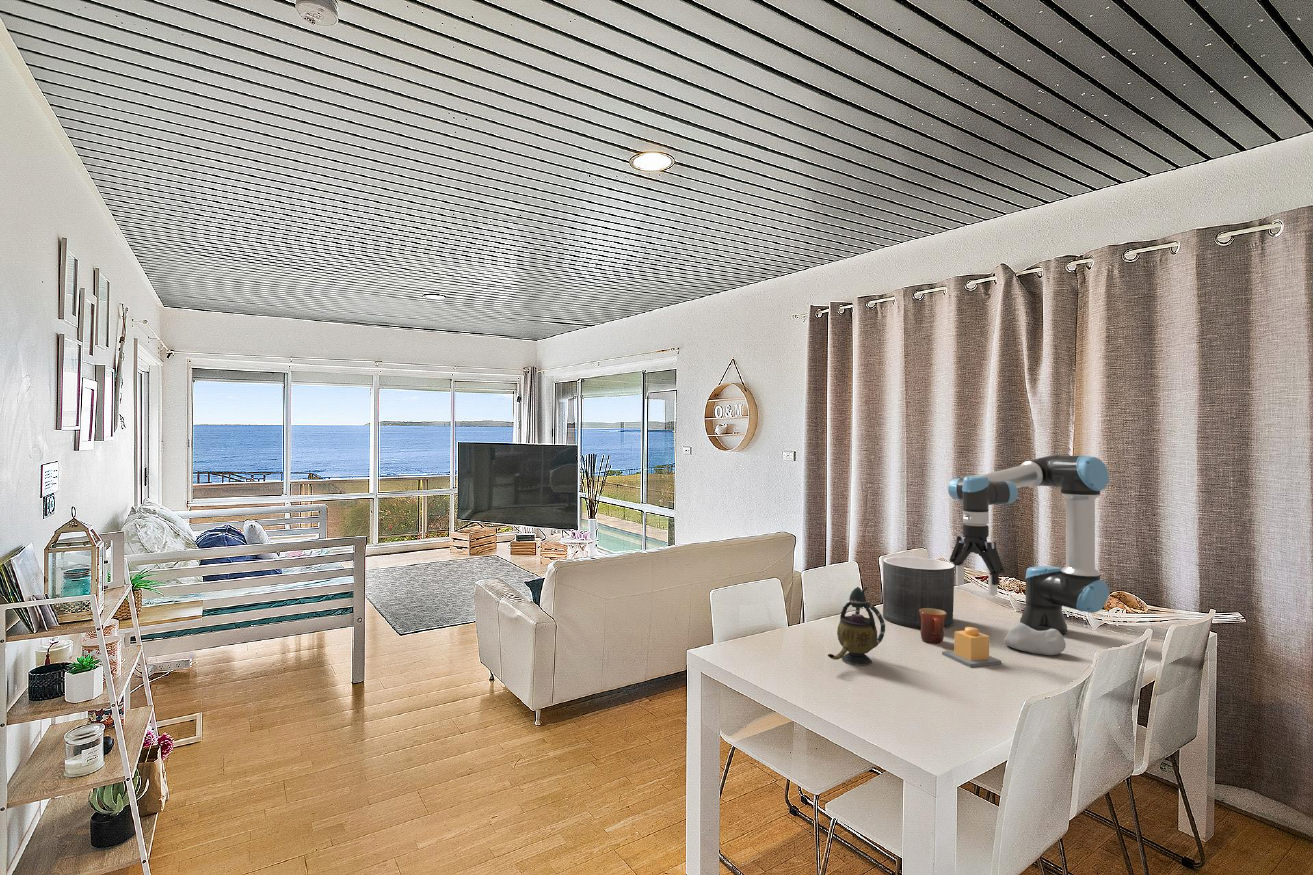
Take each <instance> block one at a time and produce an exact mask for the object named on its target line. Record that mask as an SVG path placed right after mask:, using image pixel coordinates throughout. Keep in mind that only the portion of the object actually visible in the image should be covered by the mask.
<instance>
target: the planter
mask: <svg viewBox="0 0 1313 875" xmlns="http://www.w3.org/2000/svg"><path fill="white" fill-rule="evenodd" d="M882 564H883V565H882V566H883V567H882V582H883V583H882V618H883V619H885V620H886V621H887V622H891V623H892V624H896V625H899V626H902V627H903V626H904V627H909V628H915V629H921V616H920V613H919V609H922V608H932V609H938V610H942V611H945V612H946V613H947V614H946V617H945V620H944V629H946V628H950V627H952V626H953V624H954V603H955V602H954V597H955V565H954V563H952V562H947V561H945V560H939V559H934V558H927V557H917V556H892V557H886V558H884V559H883V560H882Z"/></svg>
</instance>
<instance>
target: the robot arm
mask: <svg viewBox="0 0 1313 875" xmlns="http://www.w3.org/2000/svg"><path fill="white" fill-rule="evenodd" d="M1109 480H1110V474H1109V470H1108V467H1107V466H1106V464H1105V463H1104V462H1103V461H1102V460H1101V459H1100V458H1098V457H1096V456H1091V455H1064V454H1063V455H1061V454H1054V455H1048V456H1043V457H1039V458H1034V459H1031V460H1028V461H1024V462H1022V463H1021V464H1020V465H1018V466H1013V467H1009V468H1006V469H1001V470H998V471H992V472H988V473H984V474H981V475H973V476H972V475H969V476H964V477H963V478H962V477H960V478H959V477H958V478H953V479H952V480H950V481H949V483H948V486H947V491H948V492H947V493H948V495H949V496H950V498H952V499H954V500H958V501H962V523H963V525H962V535H959V536H956V542H955V546H954V548H953V550H952V553H951V555H950V557H949V563H952V564H953V565H954V575H955V585H956V586H965V565H964V562H965V561H966V560H967V559H968V556H969V555H970V554H971V553H972V554H973V553H974V555H975V554H976V555H978V556H979V557H980V558H981V559H982V561H983V562H984V564H985V565H986V567H987V570H989V574H988V595H989V596H995V595H996V596H997V595H998V585H999V584H1000V581H999V579H1000V578H999V576H1000V574H1005V572H1006V571H1005V568H1004V565H1003V563H1002V560H1001V557H1000V555H999V552H998V550H997V544H996V541H988V537H990V536H989V535H990V534H989V533H990V529H989V527H990V526H989V524H990V520H989V517H990V516H989V509H990V508H989V507H990V506H992V505H993V506H994V505H995V506H996V505H1004V506H1005V505H1008V504H1009V505H1010V504H1012V503H1014V502H1015V501H1017V499H1018V496H1019V492H1018V491H1019V490H1018V489H1019V488H1025V487H1029V488H1035V487H1052V488H1053V487H1055V488H1060V495H1062V496H1063V497H1064V499H1065V566H1063V567H1060V566H1059V567H1058V566H1043V565H1042V566H1030V567H1028V568H1027V569H1026V572H1025V606H1024V608H1023V611H1022V613H1021V614H1022V615H1021V617H1019V618H1020V619H1019V623H1023V624H1025V625H1027V626H1029V627H1030V628H1032V629H1034V630H1037V631H1045V630H1049V629H1056V630H1058V631H1059V632H1060V633H1061V634H1062V635H1066V634H1067V633H1068V624H1066V620H1065V615H1064V613H1063V607H1066V608H1069V609H1073V610H1077V611H1079V612H1085V613H1088V614H1095V613H1098V612H1100V611H1101V610H1103V608H1104V606H1106V603H1107V602H1108V599H1109V596H1110V588H1109V586H1108V584H1107V583H1106V582H1105V581H1103V580H1101V573H1100V571H1098V569H1096V500H1097V498H1099V497H1101V491H1102V490H1103V491H1104V490H1105V489H1106V488H1107V486H1108V483H1109Z"/></svg>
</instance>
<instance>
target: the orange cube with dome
mask: <svg viewBox="0 0 1313 875" xmlns="http://www.w3.org/2000/svg"><path fill="white" fill-rule="evenodd" d="M953 644H954V645H953V646H954V647H953V648H954V649H953V650H954V653H955V654H957V655H959V656H962V657H964V658H966V659H969V660H971V661H972V660H981V659H989V656H990V635H987V634H984V633H982V632H980V629H979V628H977V627H972V626H965V627H964V630H956V631H954V643H953Z"/></svg>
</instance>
